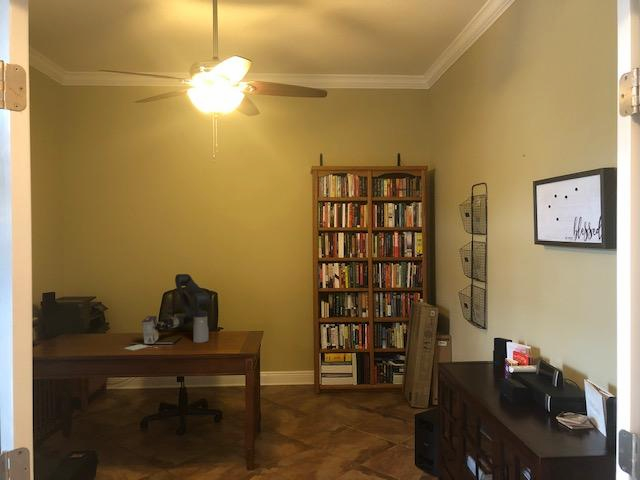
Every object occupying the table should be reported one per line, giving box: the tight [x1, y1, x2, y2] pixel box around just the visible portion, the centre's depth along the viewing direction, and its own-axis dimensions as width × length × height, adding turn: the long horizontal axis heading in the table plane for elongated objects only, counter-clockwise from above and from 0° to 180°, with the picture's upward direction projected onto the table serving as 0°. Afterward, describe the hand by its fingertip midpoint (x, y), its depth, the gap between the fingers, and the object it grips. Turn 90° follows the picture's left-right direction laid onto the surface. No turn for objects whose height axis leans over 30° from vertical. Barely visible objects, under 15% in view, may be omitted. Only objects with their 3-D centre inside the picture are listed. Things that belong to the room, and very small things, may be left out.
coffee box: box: [141, 315, 160, 345], centre depth 307 cm, size 9×6×16 cm
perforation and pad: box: [124, 344, 158, 351], centre depth 297 cm, size 13×16×1 cm
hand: (151, 327), depth 309 cm, fingers closed on coffee box, 7 cm apart
